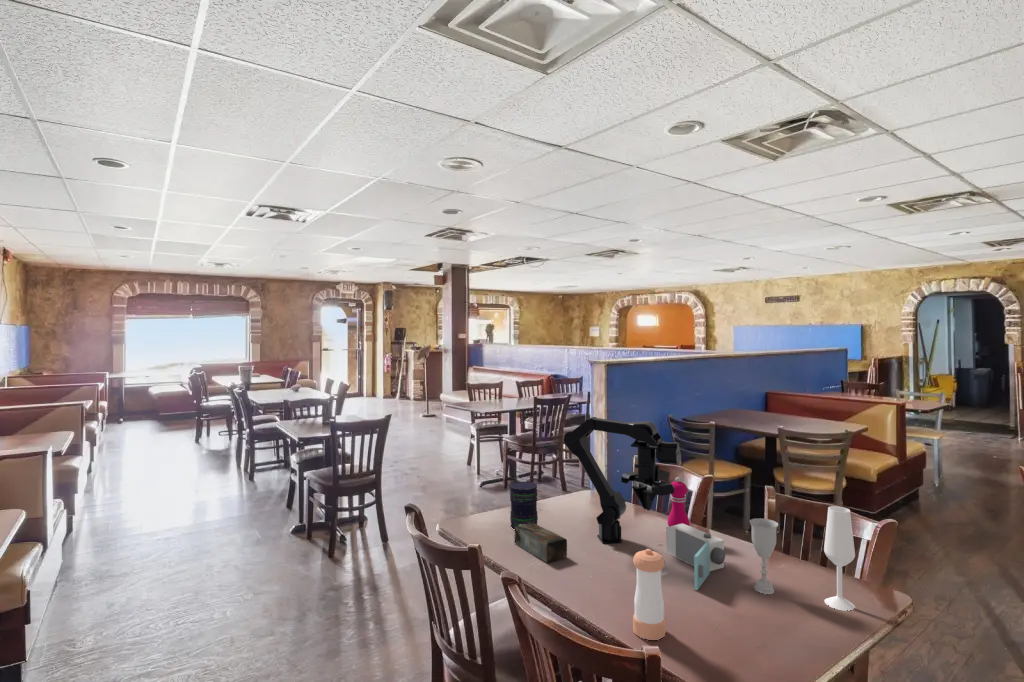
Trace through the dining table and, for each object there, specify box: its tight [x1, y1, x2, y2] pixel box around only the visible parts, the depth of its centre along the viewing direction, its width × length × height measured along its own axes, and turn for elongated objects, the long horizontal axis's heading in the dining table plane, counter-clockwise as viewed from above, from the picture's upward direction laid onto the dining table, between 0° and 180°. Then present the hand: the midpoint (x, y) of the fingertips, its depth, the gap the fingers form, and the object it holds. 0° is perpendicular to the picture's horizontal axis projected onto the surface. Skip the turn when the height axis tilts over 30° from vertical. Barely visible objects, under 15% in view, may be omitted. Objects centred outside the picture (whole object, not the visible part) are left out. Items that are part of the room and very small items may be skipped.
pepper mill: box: [667, 476, 691, 527], centre depth 182 cm, size 7×7×20 cm
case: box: [665, 523, 726, 572], centre depth 162 cm, size 18×7×9 cm, turn 28°
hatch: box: [693, 542, 711, 591], centre depth 148 cm, size 12×2×9 cm, turn 145°
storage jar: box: [509, 481, 539, 530], centre depth 193 cm, size 10×10×15 cm
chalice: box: [749, 517, 779, 595], centre depth 143 cm, size 7×7×18 cm
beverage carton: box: [513, 523, 568, 564], centre depth 171 cm, size 8×19×7 cm, turn 32°
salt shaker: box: [632, 548, 667, 639], centre depth 124 cm, size 7×7×19 cm
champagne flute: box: [823, 505, 856, 612], centre depth 135 cm, size 7×7×24 cm
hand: (647, 509), depth 173 cm, fingers closed
